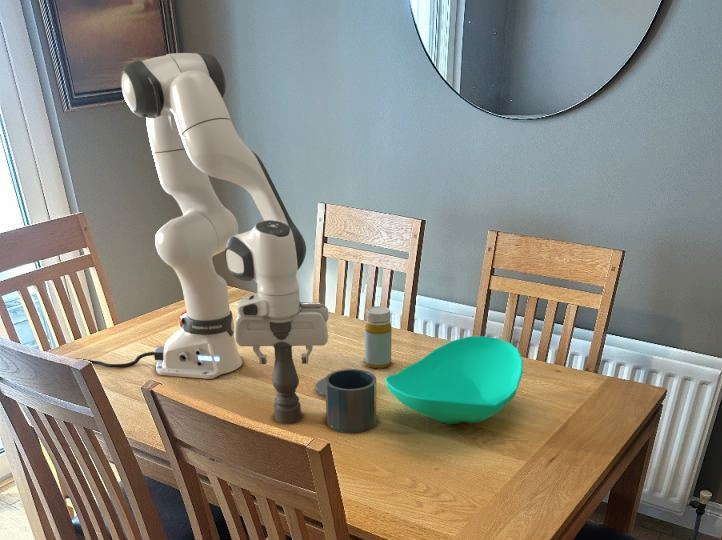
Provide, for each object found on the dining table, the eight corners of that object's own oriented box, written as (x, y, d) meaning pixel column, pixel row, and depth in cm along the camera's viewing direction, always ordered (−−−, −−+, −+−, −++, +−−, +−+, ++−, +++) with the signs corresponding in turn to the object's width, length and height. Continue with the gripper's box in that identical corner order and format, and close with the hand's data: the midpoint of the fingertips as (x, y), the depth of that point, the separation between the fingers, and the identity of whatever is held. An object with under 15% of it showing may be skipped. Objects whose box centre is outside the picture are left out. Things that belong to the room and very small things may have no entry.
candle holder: (305, 413, 174) (299, 311, 160) (294, 425, 169) (287, 320, 155) (281, 409, 176) (273, 307, 161) (270, 421, 171) (261, 317, 156)
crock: (325, 433, 166) (324, 390, 160) (327, 409, 176) (326, 368, 170) (376, 432, 167) (376, 390, 160) (375, 409, 176) (375, 368, 170)
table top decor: (447, 374, 193) (450, 325, 186) (542, 402, 180) (550, 351, 172) (355, 431, 167) (354, 377, 159) (458, 469, 154) (463, 413, 146)
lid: (314, 400, 180) (313, 382, 177) (317, 379, 190) (316, 362, 187) (366, 400, 180) (365, 382, 177) (365, 379, 190) (365, 361, 188)
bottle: (392, 359, 201) (392, 306, 192) (389, 369, 195) (390, 315, 187) (367, 358, 202) (366, 305, 193) (363, 368, 196) (363, 314, 187)
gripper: (328, 297, 159) (331, 357, 167) (234, 298, 159) (241, 358, 167) (327, 307, 154) (330, 368, 162) (230, 308, 154) (237, 369, 162)
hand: (284, 363), depth 164 cm, fingers open, 8 cm apart
